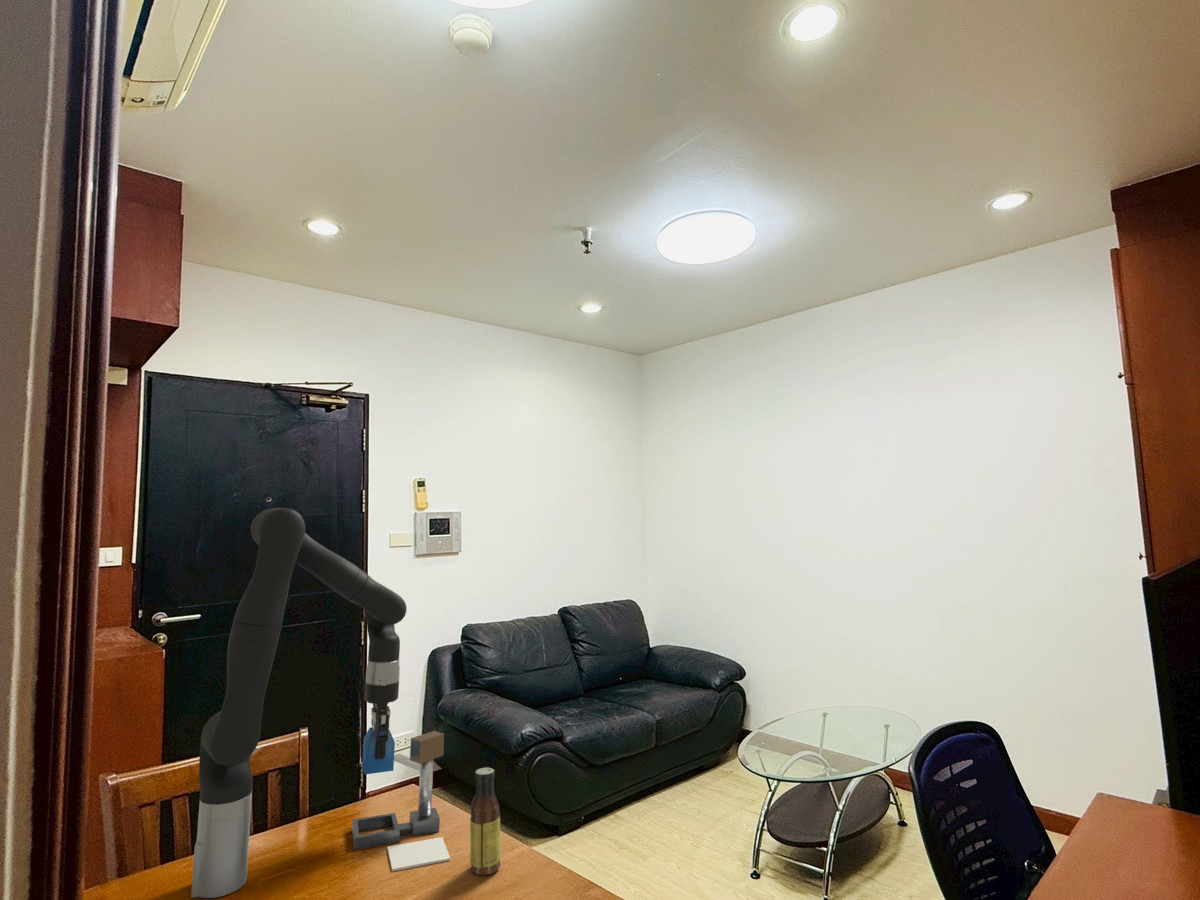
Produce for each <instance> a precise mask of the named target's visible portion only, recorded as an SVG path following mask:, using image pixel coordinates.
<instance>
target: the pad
mask: <svg viewBox="0 0 1200 900" xmlns="http://www.w3.org/2000/svg"><path fill="white" fill-rule="evenodd" d="M387 855H388V859H389V863H390V869H391V872H392V873H393V872H396V871H398V872H399V871H403V870H408V869H413V868H418V867H424V866H429V865H435V864H439V863H445V862H449V861H451V856H450V853H449V851H448V848H447V845H446V843H445V841H444V838H443V836H440V837H434V838H429V839H425V840H424V839H423V840H418V841H413V842H412V841H411V842H408V843H401V844H394V845H390V846H387Z"/></svg>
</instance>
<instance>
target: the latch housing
mask: <svg viewBox="0 0 1200 900" xmlns="http://www.w3.org/2000/svg"><path fill="white" fill-rule="evenodd" d="M439 815H440V814H439V813H438V810H437V808H436V807H431V814H430V815H428V816H419V815H418V809H417V810H411V811H409V822H403V823H399V822H398V818H397V815H396V813H395V812H392V813H384V814H381V815H380V814H378V815H374V816H367V817H361V818H360V817H359V818H354V819H352V821H351V822H352V825H351V833H352V842H353V843H352V844H353V850H354V851H357V850H362V849H368V848H374V847H379V846H386V845H391V844H396V843H400V836H403V835H409V834H411V835H412V837H415V836H420V835H421V836H422V835H427V834H428V835H429V834H434V833H438V832H440V821H441V819H440V816H439ZM388 827H390V829H389V830H383V831H378V832H371V833H365V834H360V832H364V831H370V830H378V829H382V828H383V829H384V828H388Z"/></svg>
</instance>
